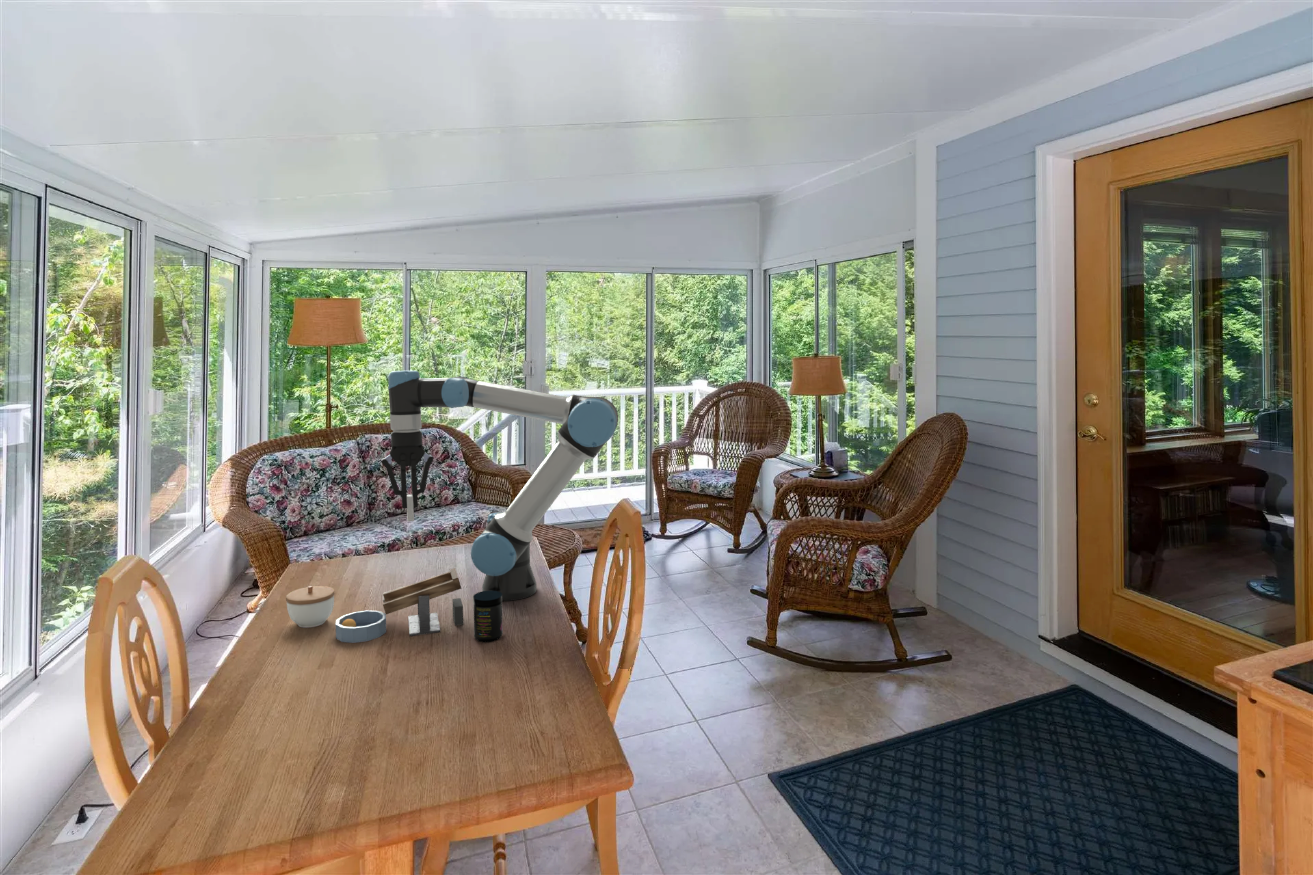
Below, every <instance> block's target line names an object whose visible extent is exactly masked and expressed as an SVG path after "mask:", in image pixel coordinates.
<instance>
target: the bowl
mask: <svg viewBox="0 0 1313 875" xmlns="http://www.w3.org/2000/svg"><path fill="white" fill-rule="evenodd" d="M346 619H353V620H354V621H355V622H356V627H345V626H342V623H343V622H344V621H345V620H346ZM334 626H335V639H336V640H338V641H340V642H341V643H349V644H350V643H352V644H354V643H356V644H357V643H362V642H363V643H364V642H368V641H371V640H375V639H378V638H380V637H382V636H383V635H384V634H385V633H387V614H386V613H385V612H382V611H381V610H373V609H372V610H370V609H369V610H359V611H354V612H351V613H347V614H344V615H342V616H340V617H338V618H337V619H336V620H335V625H334Z"/></svg>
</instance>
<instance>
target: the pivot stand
mask: <svg viewBox="0 0 1313 875" xmlns="http://www.w3.org/2000/svg"><path fill="white" fill-rule="evenodd" d="M430 606H431V605H430V600H429V595H420V596H419V603H418V604H417V614H413V615H408V616H407V618H408V631H409V637H413V636H421V635H430V634H431V635H432V634H437V633H441V626H440V622H439V616H438V612H430V611H431V610H430Z"/></svg>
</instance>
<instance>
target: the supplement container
mask: <svg viewBox="0 0 1313 875" xmlns="http://www.w3.org/2000/svg"><path fill="white" fill-rule="evenodd" d="M472 598H473V599H472V604H473V637H474V639H475V641H477V642H479V643H492V642H495V641H498V640H500V639H501V638H502V637H503V631H504V629H503V627H504V626H503V601H502V593H501V592H498V591H482V590H481V591H478V592H476V593H474V594H473V595H472Z"/></svg>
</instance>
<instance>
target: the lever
mask: <svg viewBox="0 0 1313 875" xmlns="http://www.w3.org/2000/svg"><path fill="white" fill-rule="evenodd" d="M459 590H462V585H461V581H460V579H459V576H458V573H457V569H456V568H451V569H449V571H447V572H444V573H440V574H438V575H435V576H432V577H429V578H426V579H422V580H420V581H417V582H413V583H411V584H408V585H405V586H399V587H397V588H394V589H391V590H387V591H385V592H382V602H383V603H382V607H383V610H384V613H385V614H386V615H388V614H391V613H395V612H398V611H400V610H404V609H407V608H410V607H412V606H416V605H418V603H419V596H420V595H429V601H430V600H433V599H435V598H438V597H440V596H444V595H446V594H450V593H452V592H455V591H459Z"/></svg>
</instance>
